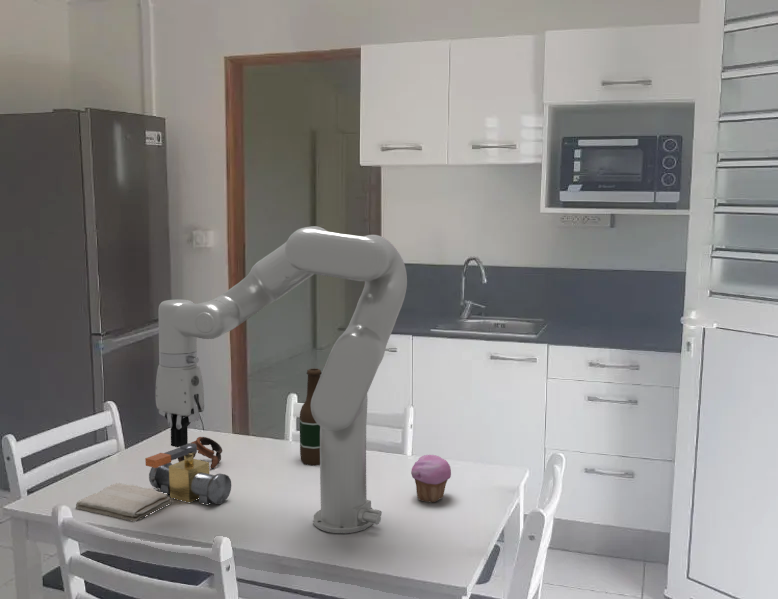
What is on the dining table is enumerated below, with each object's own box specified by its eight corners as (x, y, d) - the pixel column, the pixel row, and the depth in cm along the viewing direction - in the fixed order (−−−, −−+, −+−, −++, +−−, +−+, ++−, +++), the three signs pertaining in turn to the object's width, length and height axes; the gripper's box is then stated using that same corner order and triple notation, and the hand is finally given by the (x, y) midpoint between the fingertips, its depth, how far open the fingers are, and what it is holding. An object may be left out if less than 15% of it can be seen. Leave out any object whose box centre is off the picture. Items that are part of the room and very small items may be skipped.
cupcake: (425, 489, 177) (426, 447, 176) (458, 497, 172) (458, 454, 171) (404, 501, 170) (404, 457, 169) (437, 510, 165) (437, 465, 164)
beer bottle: (329, 465, 193) (327, 372, 191) (298, 465, 194) (296, 372, 191) (331, 455, 201) (330, 366, 198) (302, 455, 201) (300, 366, 198)
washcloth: (137, 525, 159) (136, 510, 159) (73, 511, 166) (72, 497, 166) (175, 504, 170) (174, 491, 170) (113, 492, 177) (112, 479, 177)
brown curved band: (194, 459, 200) (209, 433, 199) (217, 481, 196) (233, 454, 195) (162, 461, 190) (177, 433, 189) (185, 484, 186) (201, 456, 185)
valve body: (231, 499, 171) (230, 456, 170) (211, 509, 166) (210, 465, 165) (170, 484, 181) (169, 443, 180) (149, 492, 176) (147, 450, 175)
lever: (200, 451, 173) (200, 444, 173) (156, 468, 162) (156, 460, 162) (188, 449, 175) (188, 442, 175) (144, 465, 164) (144, 458, 164)
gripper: (217, 360, 158) (218, 447, 160) (166, 352, 166) (167, 434, 168) (190, 367, 152) (192, 456, 154) (138, 358, 159) (140, 443, 162)
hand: (179, 445), depth 161 cm, fingers closed
